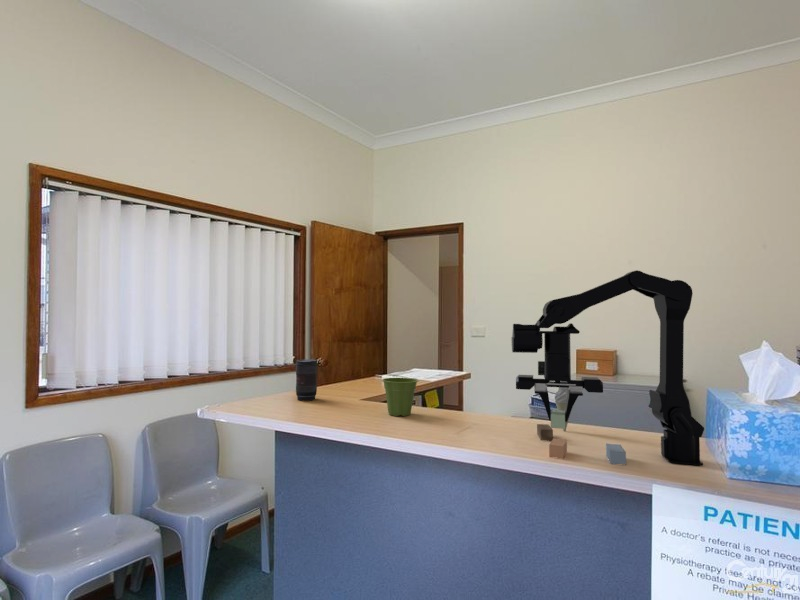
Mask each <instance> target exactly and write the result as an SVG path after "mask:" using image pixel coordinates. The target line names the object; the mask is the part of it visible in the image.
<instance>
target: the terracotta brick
mask: <svg viewBox="0 0 800 600" xmlns="http://www.w3.org/2000/svg"><path fill="white" fill-rule="evenodd" d="M567 442H568V440H567V439H562V438H554V437H553V440H552V441H550V443H549V445H548V454H549V455H548V457H549V458H553V457H557V458H556V459H560V458H563V459H565V457H564V456H566V455H565V454H567V453H566V452H568V449H567V448H568V443H567Z"/></svg>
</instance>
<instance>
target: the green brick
mask: <svg viewBox="0 0 800 600" xmlns="http://www.w3.org/2000/svg"><path fill="white" fill-rule="evenodd" d="M550 427H551V428H552V429H561V430H563V429H565V410H558V409H551V421H550Z"/></svg>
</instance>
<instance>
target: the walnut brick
mask: <svg viewBox="0 0 800 600" xmlns="http://www.w3.org/2000/svg"><path fill="white" fill-rule="evenodd" d="M536 435H537V437H538V438H539V440H540V441H543V440H547V441H548V440H549V441H550V442H551V441H552V440H553V438H554V428H551V425H549V424H548V423H547V424H543V423H540V424H539V423H537V424H536ZM549 441H548V442H549Z"/></svg>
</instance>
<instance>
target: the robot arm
mask: <svg viewBox="0 0 800 600" xmlns="http://www.w3.org/2000/svg"><path fill="white" fill-rule="evenodd" d="M630 291H636V293H639V294H641V295H643V296H645V297H648V298H651V299H653V302H654V303H653V304H654V308H655V311H656V314H657V317H658V319H659V322H660V323H659V324H660V325H659V330H660V331H659V382H658V385H657V388H656V390H654V389H649V392H648V393H649V400H650V401H649V404H648V406H647V407H648V408H650V409H651V413H652V414H653V416H654V417H655V418H656V419H657V420H658V421H659V423H660V425H661V427H662V428H663V435H662V436H660V451H661V452H660V454H661V456H662V457H663V458H664V459H665V460H666V461H667V462H668V463H671V464H682V465H683V464H684V465H692V466H693V465H694V466H704V463H703V461H702V460H701V449H700V448H701V447H700V446H701V445H700V443H701V442H700V438H701V437H702V436H703V434H704V431H705V427H704V426H703V425H702V424H701V423H700V422H698V421H697V420H696V418H694V417H693V416H692V410H691V403H690V399H689V397H688V394H687V392H686V390H685V387H684V339H685V338H684V337H685V336H684V335H685V334H684V329H685V328H684V327H685V326H684V325H685V319H686V317H687V315H688V313H689V310H690V309H691V304H692V299H693V288H692V286H691V285H689V284H688V283H687V282H686V281H683V280H681V279H675V280H670V279H668V278H665V277H664V278H663V277H660V276H656V275H653V274H648V273H645V272H643V271H642V270H632V271H629V272H627V273H625V274H624V275H622V276H620V277H618V278H615V279H612V280H610V281H608V282H605V283H603V284H601V285H598V286H595V287H593V288H590V289H587V290H585V291H583V292H581V293H578V294H577V293H576V294H574V295H569V296H564V297H560V298H555V299H552V300H549V301H547V302H545V304H544V306H543V308H542V315H541V316H540V317H539V318H538V320H536V323H535V324H521V323H513V324H512V335H511V353H523V354H525V353H526V354H527V353H528V354H529V353H530V354H531V353H532V354H536V353H538V350H540V349H543V342H544V361H542V360H538V361H537V376H543V378H534V375H533V374H518V375H516V378H515V389H516V390H525V391H527V390H529V391H530V390H531V389H534V394H536V395H539V397H540V398H541V399H540V400H541V402H543V405H544V407H545V408H544V409H545V411H546V415H547V417H548V421H550V422H551V411H552V409H551V405H550V397H549V390H548V388H559V387H563V388H569V389H567V401H566V410H565V422H567V421H568V422H569V420H568V418H569V419H570V417H571V413H572V410H573V407H574V406H575V403H576V401H577V400H578V397H581V396H582V397H583V396H584V392H583V390H584V389H585V391H586V392H588V393H597V394H599V393H601V394H602V393H604V383H603V381H602V380H601V379H600V378H599V377H596V376H582V377H581V379H572V376H571V375H572V371H571V370H572V368H571V365H572V362H571V361H572V360H571V358H572V357H571V335H572V334H573V335H576V334H577V335H578V334H580V330H578V329H577V328H576V327H575V325H574V324H573V323H568V324H567V325H566V326H554V325H561V324H565V323H567V322H569V321H570V320H572V319H573V318H576V317H577V316H578V315H580V314H581V313H583V312H584V311H585V310H587V309H589V308H590V307H593V306H596V305H598V304H601V303H603V302H606V301H608V300H611V299H614V298H617V296H621V295H622V294H626V293H628V292H630ZM552 326H553V329H552V330H541V329H549V328H551V327H552ZM543 335H544V337H543ZM543 338H544V341H543ZM562 381H566V382H562ZM569 416H570V417H569Z"/></svg>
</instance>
